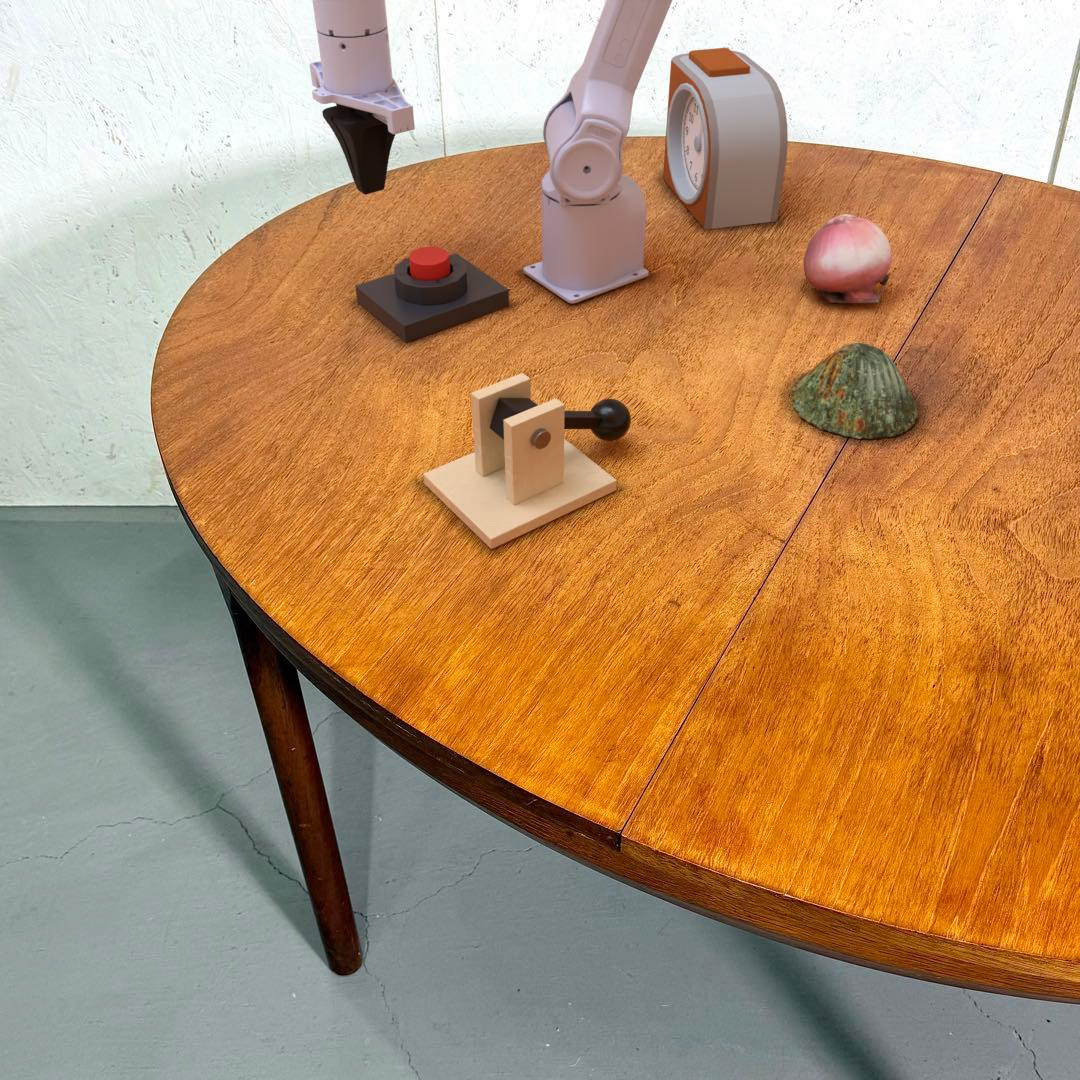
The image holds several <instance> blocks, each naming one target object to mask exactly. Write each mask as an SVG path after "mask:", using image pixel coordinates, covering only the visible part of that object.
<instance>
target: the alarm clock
mask: <svg viewBox="0 0 1080 1080" xmlns="http://www.w3.org/2000/svg"><path fill="white" fill-rule="evenodd" d="M669 69H670V70H669V86H668V97H667V99H668V100H667V114H666V127H665V143H664V157H663V171H662V178H663V180H664V182H665V183H666V184H667V185H668V187H669V188H670V190H672V192H673V193H674V194H675V195H676V196H677V198H678V199H679V200H680V201H681V203H682V204H683V205H684V207H685V208H686V209H687V210H688V211H689V212H690V213H691V215H692V216H693V217H694V218H695V220H696V221H697V222H698V223H699V225H700V226H701V227H702V228H703V230H704V231H705V230H706V231H709V230H715V229H723V228H731V227H739V226H749V225H757V224H765V223H766V224H767V223H773V222H777V221H778V218H779V212H780V204H781V200H782V199H781V198H782V192H783V184H784V178H785V171H786V164H787V157H788V156H787V155H788V145H789V140H788V139H789V138H788V137H789V136H788V135H789V134H788V121H787V113H786V106H785V103H784V99H783V95H782V92H781V89H780V87H779V86H778V83H777V82H776V80H775V79H774V77H772V75H771V74H770V73H769V72H768V71H766V70H765V69H764V68H763V67H761V66H760V65H759V64H758V63H757V62H755V61H754V60H753V59H752V58H750V57H749V56H748V55H747V54H745V53H744V52H740V51H737V50H731V49H730V48H728V47H717V48H706V49H695V50H690V51H689V52H688V53H681V54H676V55H674V56H673V57H672V58H671V60H670V68H669Z"/></svg>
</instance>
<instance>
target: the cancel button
mask: <svg viewBox="0 0 1080 1080" xmlns="http://www.w3.org/2000/svg"><path fill="white" fill-rule="evenodd" d="M449 255H450V253H449V252H448V251H447V250H446V249H445V248H443V247H439V246H423V247H418V248H416V249H414V250H412V251H411V252H410V253H409V255H408V257H409V264H410V274H411V277H412V278H413V279H418V280H422V281H433V280H439V279H442V278H445V277H448V276H449V275H450V261H449Z"/></svg>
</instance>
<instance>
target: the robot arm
mask: <svg viewBox="0 0 1080 1080" xmlns="http://www.w3.org/2000/svg"><path fill="white" fill-rule="evenodd" d="M311 1H312V7H313V14H314V21H315V23H314V24H315V29H316V36H317V43H318V49H319V51H318V52H319V57H320V58H319V59H320V60H318V61H313V62H309V70H310V71H309V72H310V78H311V84H312V86H313V87H314V88H313V89H312V90H311V94H312V99H313V100H314V101H316V102H317V103H319V104H322V105H328V104H332V103H333V104H335V105H333V106H329V107H326V108H324V109H322V112H321V113H322V117H323V119H324V120H325V122H326V124H328V126H329V128H330V129H331V130H332V132H333V134H334V136H335V138H336V139H337V142H338V143H339V146H340V148H341V150H342V153H343V154H344V158H345V159H346V162H347V165H348V168H349V171H350V174H351V177H352V179H353V182H354V184H355V187H356V189H357V191H358V192H360V193H361V194H363V195H369V194H373V193H377V192H381V191H384V190H385V186H386V181H387V173H388V167H389V161H390V160H389V159H390V156H391V155H390V154H391V149H392V146H393V143H394V140H395V137H396V135H399V134H402V133H405V132H406V133H407V132H409V131H410V132H411V131H414V130H415V128H416V126H415V117H414V115H415V114H414V105H412V104H411V103H409V102H408V101H407V100H406V99H405V97H404V95H403V93H402V91H401V89H400V88H399V85H398V83H397V82H396V80H395V78H393V70H392V69H393V68H392V58H391V48H390V47H391V45H390V37H389V25H388V18H387V17H388V16H387V7H386V0H311ZM672 2H673V0H605V3H604V6H603V8H602V11H601V13H600V16H599V18H598V22H597V24H596V27H595V30H594V32H593V35H592V38H591V40H590V43H589V45H588V49H587V52H586V54H585V56H584V59H583V62H582V64H581V65H580V67H579V68H578V69H577V71H576V72H575V73H574V74H573V75H572V77H571V79H570V82H569V84H568V87H567V89H566V91H565V92H564V95H563V96H562V98H560V99H559V100H558V101H557V102H556V103H555V104H554V105H552V106H551V108H550V110H548V113H547V114H546V116H545V119H544V122H543V127H542V136H543V141H544V145H545V147H546V149H547V154H548V159H549V168H548V171H547V172H546V174H544V176H543V177H542V180H541V183H540V184H541V186H540V187H541V191H540V192H541V195H540V197H541V261H538V262H535V263H533V264H530V265H526V266H524V267H523V274H524V275H527V276H528V277H529V278H531V279H532V280H533V281H535V282H537V283H538V284H539V285H541V286H543V287H544V288H546V289H547V290H549V291H550V292H552V293H553V294H555V295H556V296H558V297H559V298H561V299H562V300H564V301H565V302H566V303H568V304H577V303H579V302H582V301H585V300H588V299H591V298H593V297H596V296H599V295H601V294H603V293H606V292H609V291H612V290H615V289H618V288H621V287H623V286H626V285H628V284H631V283H634V282H637V281H639V280H642V279H645V278H647V277H648V276H649V273H650V272H649V270H648V269H646V268H645V267H644V262H645V245H646V231H647V230H646V228H647V204H646V200H645V196H644V193H643V191H642V188H641V186H640V185H639V184H638V182H636V180H635V179H633V178H632V177H631V176H629V175H628V174H625V173H624V159H623V156H624V155H623V149H624V145H625V141H626V138H627V135H628V133H629V131H630V125H631V117H632V110H633V104H634V96H635V93H636V91H637V88H638V86H639V84H640V81H641V78H642V76H643V73H644V71H645V68H646V66H647V64H648V61H649V59H650V56H651V54H652V52H653V49H654V46H655V44H656V42H657V39H658V37H659V34H660V32H661V29H662V26H663V24H664V22H665V20H666V17H667V14H668V12H669V10H670V8H671V5H672Z"/></svg>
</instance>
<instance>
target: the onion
mask: <svg viewBox="0 0 1080 1080" xmlns="http://www.w3.org/2000/svg"><path fill="white" fill-rule="evenodd" d="M892 261H893V252H892V247H891V244H890V242H889V240H888V238H887V236H886V234H885V233H884V231H883V230H882V229H881V228H880V227H879V226H878V225H877V224H876V223H874V222H873V221H871V220H869V219H866V218H865V217H864V218H863V217H858V216H857V215H854V214H849V213H843V214H840V215H837V216H834V217H832V218H830V219H829V220H828V221H826V222H825V223H824V225H822V227H821V228H820V229H818V230H817V231H816V232H815V233H814V234H813V236H812V237H811V238H810V240H809V242H808V244H807V246H806V250H805V253H804V259H803V272H804V276H805V278H806V280H807V281H808V283H809V284H810V285H811V286H812V287H813V288H814V289H816V290H817V292H818V293H819V294H820V295H821V296H822V297H823V298H824V299H825V300H827V302H829V303H833V304H834V303H835V304H878V303H879V301H880V299H881V297H882V294H883V292H884V287H886V284H887V283H888V281H889V279H890V277H891V274H892V273H891V272H889V271H890V268H891V265H892ZM878 284H879V285H880V286H881V290H880V291H874V288H875V287H876V285H878Z"/></svg>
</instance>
